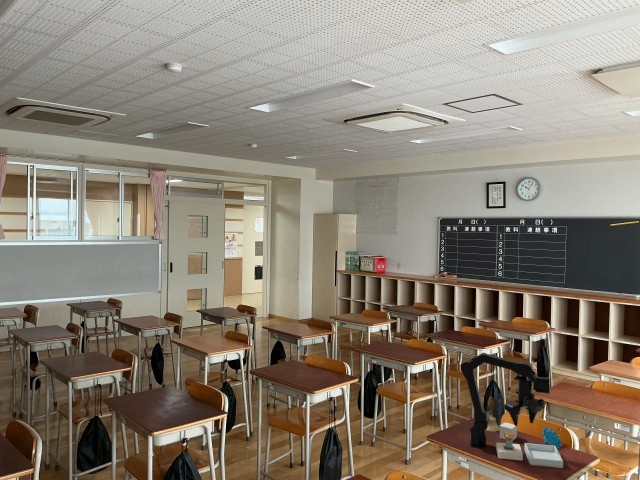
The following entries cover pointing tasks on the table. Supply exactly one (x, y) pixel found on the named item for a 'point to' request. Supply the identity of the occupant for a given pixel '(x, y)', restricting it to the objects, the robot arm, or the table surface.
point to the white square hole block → (509, 452)
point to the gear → (551, 437)
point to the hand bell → (492, 418)
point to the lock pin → (509, 441)
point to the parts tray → (543, 455)
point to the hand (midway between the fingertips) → (523, 424)
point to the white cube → (508, 430)
